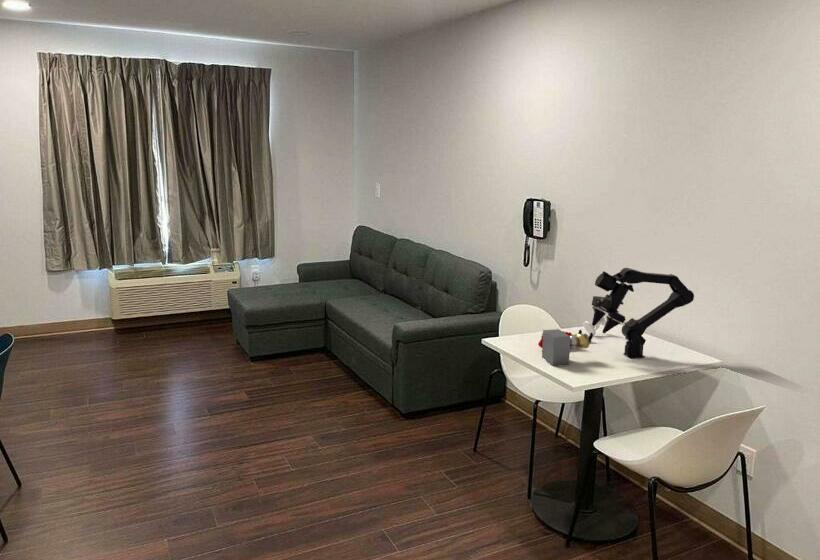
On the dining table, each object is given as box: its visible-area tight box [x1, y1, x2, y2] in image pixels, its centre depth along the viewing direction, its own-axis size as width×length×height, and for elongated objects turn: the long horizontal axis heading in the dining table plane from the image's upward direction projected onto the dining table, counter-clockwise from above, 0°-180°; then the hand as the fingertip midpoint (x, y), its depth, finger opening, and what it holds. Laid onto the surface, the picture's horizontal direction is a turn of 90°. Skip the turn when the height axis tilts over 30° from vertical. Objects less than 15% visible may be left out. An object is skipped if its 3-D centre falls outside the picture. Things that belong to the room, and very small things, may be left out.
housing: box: [541, 328, 571, 367], centre depth 261 cm, size 7×11×12 cm, turn 11°
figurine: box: [537, 329, 594, 349], centre depth 283 cm, size 12×9×30 cm
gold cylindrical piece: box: [570, 333, 590, 350], centre depth 262 cm, size 8×6×6 cm
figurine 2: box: [582, 316, 607, 336], centre depth 300 cm, size 8×12×10 cm
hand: (598, 329), depth 265 cm, fingers open, 9 cm apart
